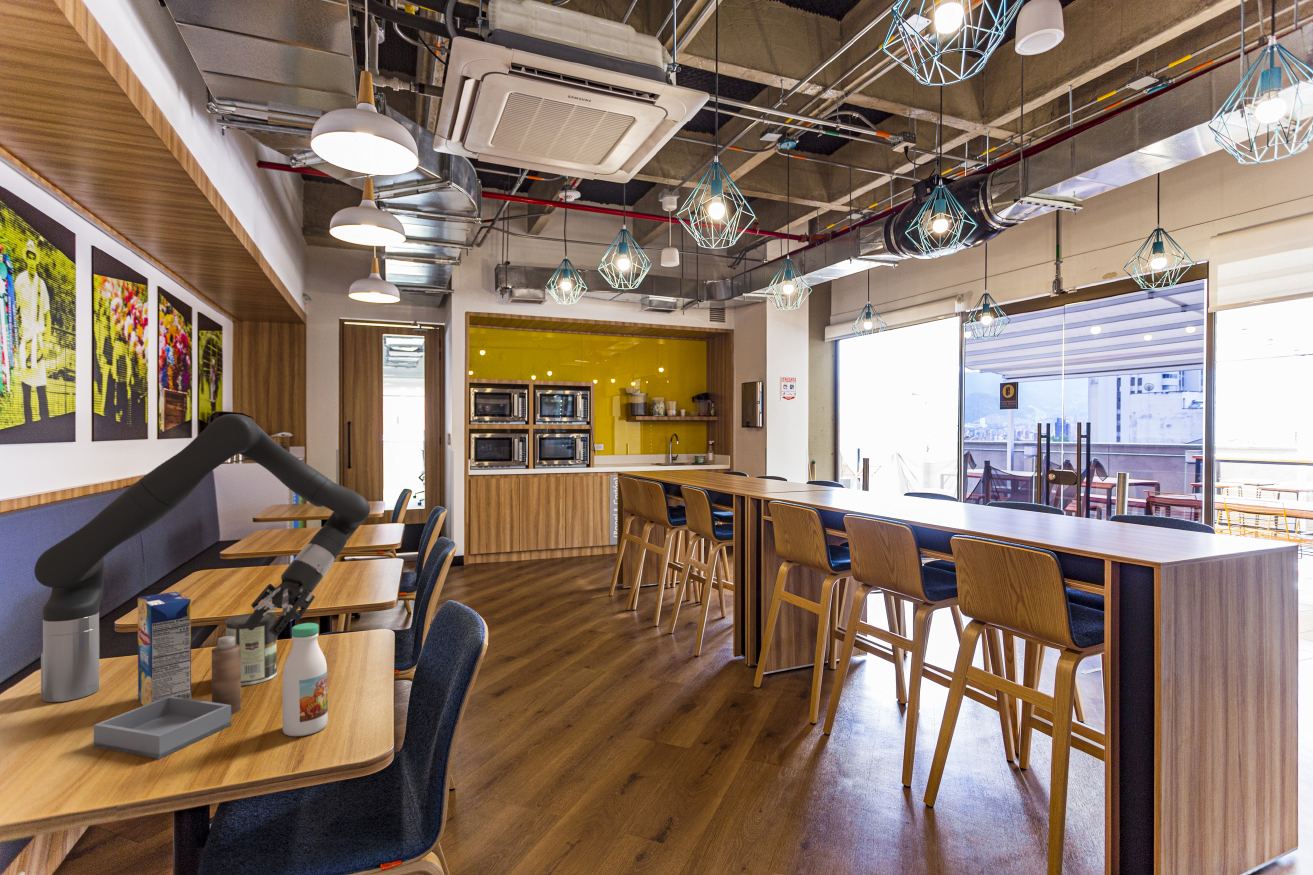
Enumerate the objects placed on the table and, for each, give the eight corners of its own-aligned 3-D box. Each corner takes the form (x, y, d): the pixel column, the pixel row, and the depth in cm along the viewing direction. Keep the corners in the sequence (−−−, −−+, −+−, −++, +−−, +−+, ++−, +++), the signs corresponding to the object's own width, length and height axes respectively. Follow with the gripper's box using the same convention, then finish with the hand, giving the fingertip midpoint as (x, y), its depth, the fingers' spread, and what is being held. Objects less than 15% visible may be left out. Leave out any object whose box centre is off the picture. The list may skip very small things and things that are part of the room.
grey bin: (93, 746, 121) (93, 724, 121) (169, 715, 134) (169, 695, 134) (159, 758, 116) (159, 736, 116) (231, 725, 130) (231, 704, 130)
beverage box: (151, 713, 135) (150, 605, 135) (138, 699, 142) (137, 597, 142) (191, 703, 140) (190, 599, 140) (176, 690, 147) (176, 591, 147)
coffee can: (263, 666, 162) (262, 609, 162) (285, 675, 156) (285, 615, 156) (216, 680, 153) (216, 619, 153) (239, 689, 148) (239, 626, 148)
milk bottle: (281, 740, 123) (281, 633, 123) (283, 724, 130) (283, 622, 130) (328, 732, 127) (327, 628, 126) (327, 717, 133) (327, 617, 133)
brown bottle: (205, 714, 135) (205, 640, 135) (227, 704, 139) (227, 633, 139) (224, 717, 133) (224, 642, 133) (246, 707, 138) (246, 635, 138)
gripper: (277, 556, 154) (227, 617, 143) (319, 561, 147) (269, 626, 137) (298, 574, 158) (251, 635, 148) (339, 580, 152) (293, 644, 142)
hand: (260, 630), depth 143 cm, fingers open, 8 cm apart
